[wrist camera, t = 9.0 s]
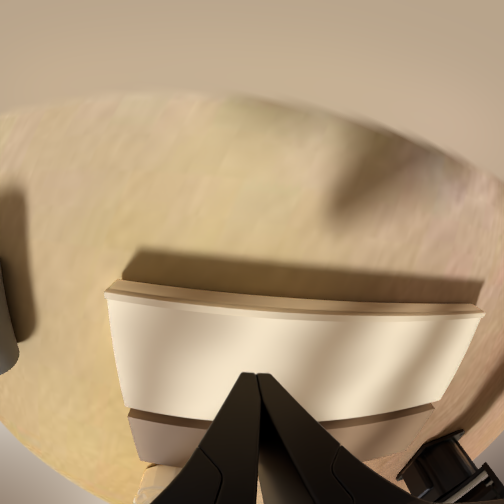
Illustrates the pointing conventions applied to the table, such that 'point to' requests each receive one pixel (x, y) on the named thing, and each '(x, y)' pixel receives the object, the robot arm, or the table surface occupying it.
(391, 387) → the pale oak plank
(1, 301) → the rubber mallet
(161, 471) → the white cup
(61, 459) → the table surface
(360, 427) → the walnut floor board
